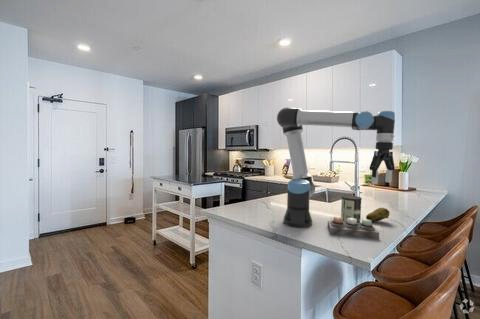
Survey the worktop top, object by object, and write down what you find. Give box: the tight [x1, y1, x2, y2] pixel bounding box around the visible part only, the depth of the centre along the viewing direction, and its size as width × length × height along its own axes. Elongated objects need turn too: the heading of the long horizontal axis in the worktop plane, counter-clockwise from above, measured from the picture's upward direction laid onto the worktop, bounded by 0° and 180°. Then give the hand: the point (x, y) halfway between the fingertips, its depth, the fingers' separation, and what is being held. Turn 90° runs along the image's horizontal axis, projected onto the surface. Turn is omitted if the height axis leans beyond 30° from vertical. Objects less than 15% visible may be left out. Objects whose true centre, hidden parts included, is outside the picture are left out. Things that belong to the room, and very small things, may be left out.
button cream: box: [347, 218, 357, 224], centre depth 117 cm, size 4×4×2 cm
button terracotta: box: [332, 216, 343, 223], centre depth 119 cm, size 4×4×2 cm
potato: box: [365, 207, 390, 223], centre depth 136 cm, size 8×13×8 cm, turn 81°
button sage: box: [361, 218, 372, 226], centre depth 116 cm, size 4×4×2 cm
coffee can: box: [340, 194, 363, 223], centre depth 135 cm, size 10×10×14 cm
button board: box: [327, 219, 380, 240], centre depth 118 cm, size 21×12×4 cm, turn 76°
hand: (381, 183), depth 123 cm, fingers open, 13 cm apart
